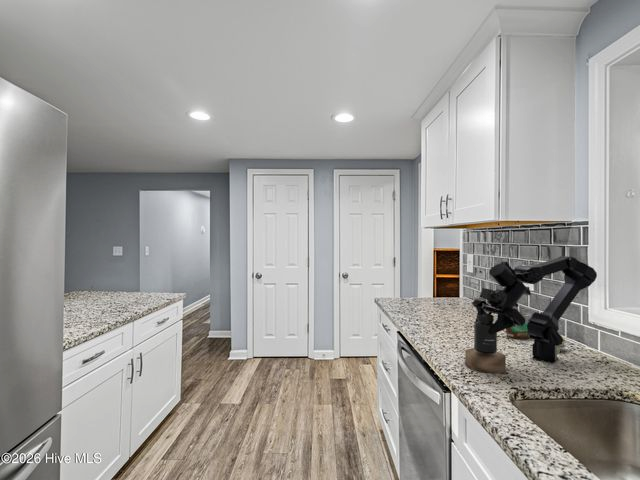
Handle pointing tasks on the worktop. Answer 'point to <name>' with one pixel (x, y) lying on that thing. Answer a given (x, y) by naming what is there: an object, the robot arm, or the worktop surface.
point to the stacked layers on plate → (561, 345)
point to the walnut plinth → (485, 361)
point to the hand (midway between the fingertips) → (481, 330)
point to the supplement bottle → (484, 334)
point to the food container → (519, 329)
